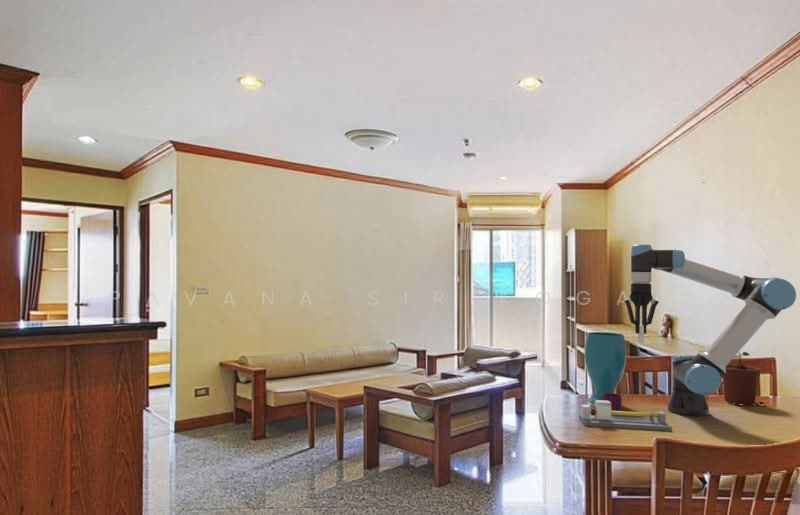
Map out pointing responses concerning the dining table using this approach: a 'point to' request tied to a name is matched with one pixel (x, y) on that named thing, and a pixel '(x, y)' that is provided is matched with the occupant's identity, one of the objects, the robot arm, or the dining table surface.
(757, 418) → the dining table surface
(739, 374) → the potted plant
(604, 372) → the vase
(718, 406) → the dining table surface
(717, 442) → the dining table surface
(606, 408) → the sleeve
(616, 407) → the mug
